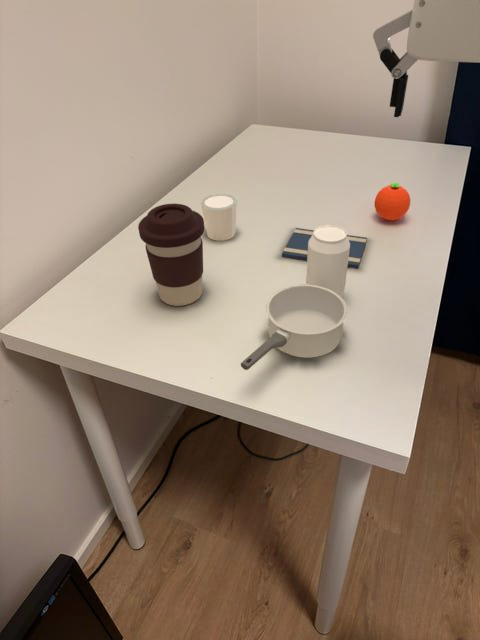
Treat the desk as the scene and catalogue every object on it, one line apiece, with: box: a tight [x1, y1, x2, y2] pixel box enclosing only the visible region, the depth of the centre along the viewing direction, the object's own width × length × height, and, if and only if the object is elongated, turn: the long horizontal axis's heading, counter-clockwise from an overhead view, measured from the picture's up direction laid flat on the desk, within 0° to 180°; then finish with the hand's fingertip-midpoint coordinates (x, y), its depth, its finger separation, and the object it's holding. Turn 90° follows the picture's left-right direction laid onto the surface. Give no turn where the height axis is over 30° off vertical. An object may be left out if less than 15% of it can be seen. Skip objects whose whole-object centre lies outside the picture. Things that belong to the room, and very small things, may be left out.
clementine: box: [374, 182, 411, 221], centre depth 97 cm, size 8×7×7 cm
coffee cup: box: [137, 203, 206, 307], centre depth 77 cm, size 10×10×15 cm
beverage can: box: [305, 224, 350, 299], centre depth 76 cm, size 6×6×12 cm
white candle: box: [200, 193, 238, 242], centre depth 95 cm, size 7×7×7 cm
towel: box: [281, 227, 368, 270], centre depth 91 cm, size 14×10×1 cm
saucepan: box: [240, 283, 348, 371], centre depth 68 cm, size 12×20×6 cm, turn 141°
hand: (442, 116), depth 55 cm, fingers open, 9 cm apart
